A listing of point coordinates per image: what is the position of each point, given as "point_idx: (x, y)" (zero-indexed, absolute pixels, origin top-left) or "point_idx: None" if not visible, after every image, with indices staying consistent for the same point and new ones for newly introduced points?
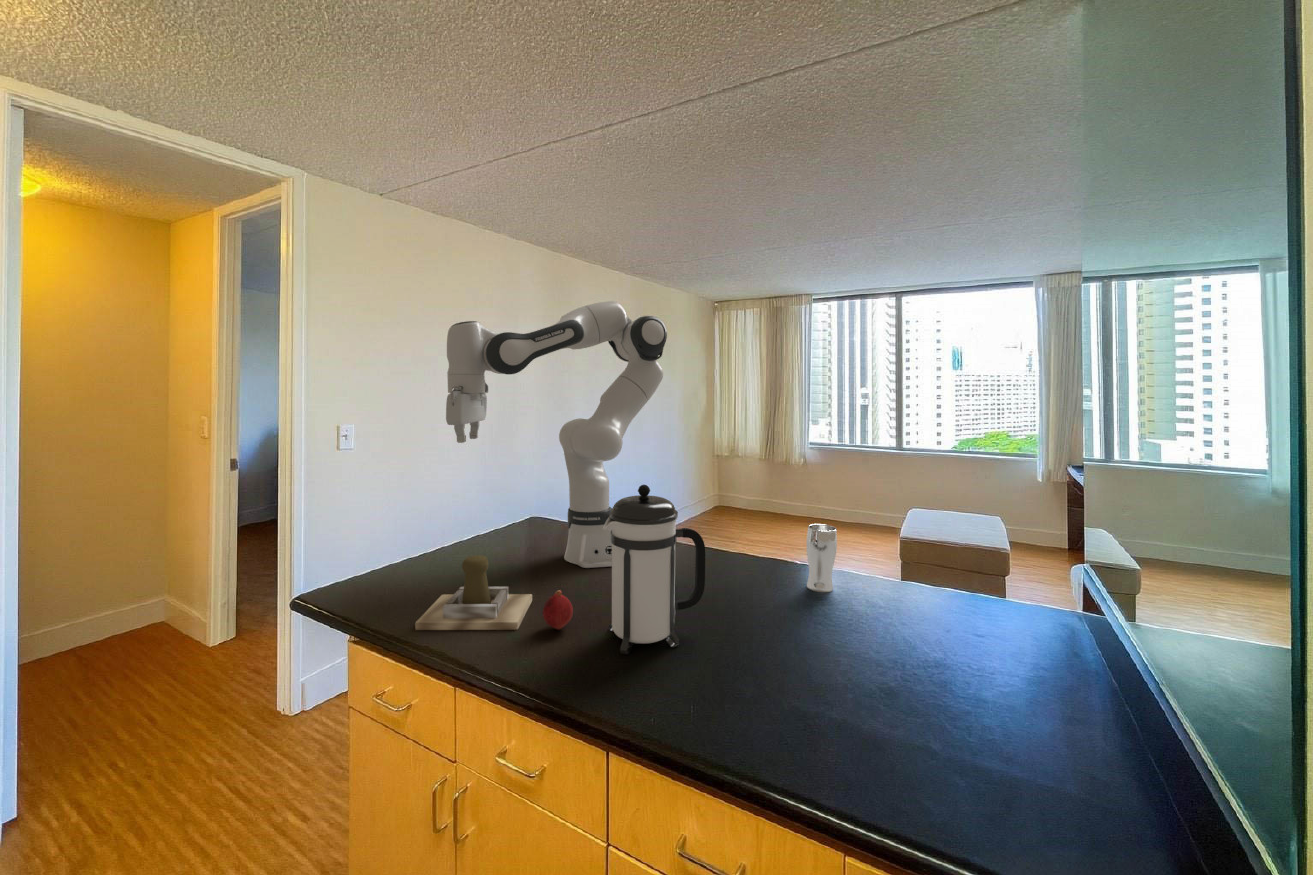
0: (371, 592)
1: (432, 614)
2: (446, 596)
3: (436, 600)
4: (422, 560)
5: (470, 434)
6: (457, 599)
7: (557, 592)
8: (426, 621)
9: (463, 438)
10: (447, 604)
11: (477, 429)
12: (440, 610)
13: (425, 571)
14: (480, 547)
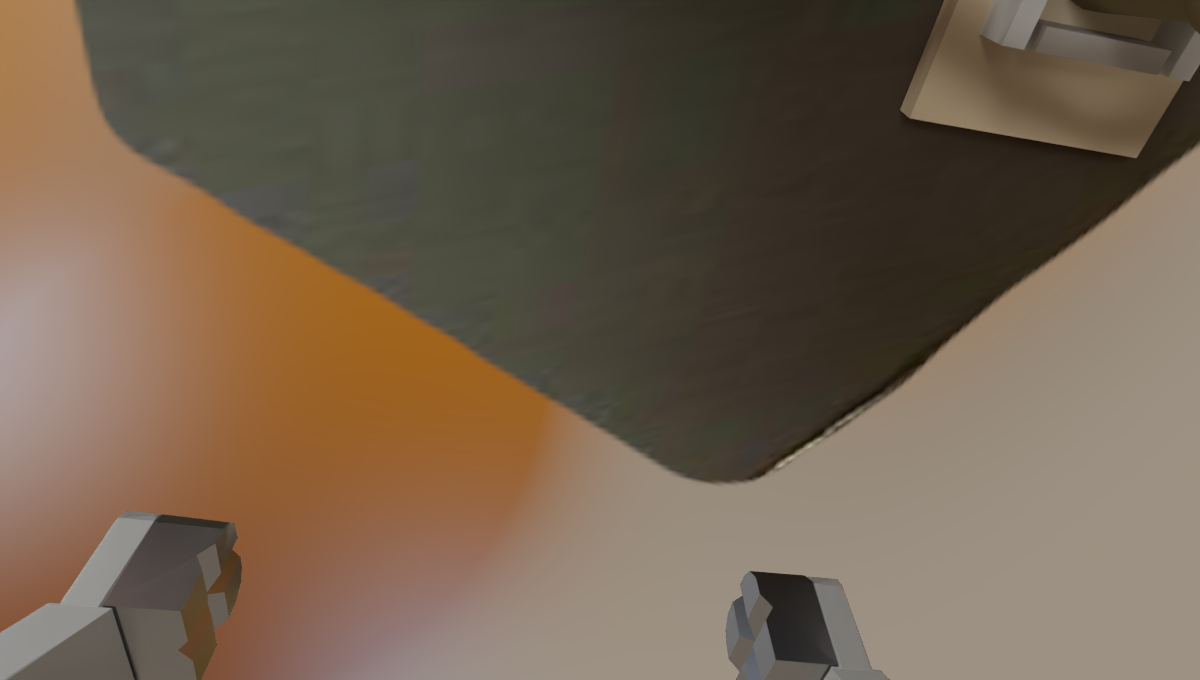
0: (729, 353)
1: (1094, 115)
2: (939, 97)
3: (963, 127)
4: (407, 278)
5: (212, 637)
6: (1110, 37)
7: None
8: (1147, 123)
9: (850, 630)
10: (1178, 67)
11: (52, 649)
12: (1072, 93)
13: (547, 238)
14: (193, 50)
